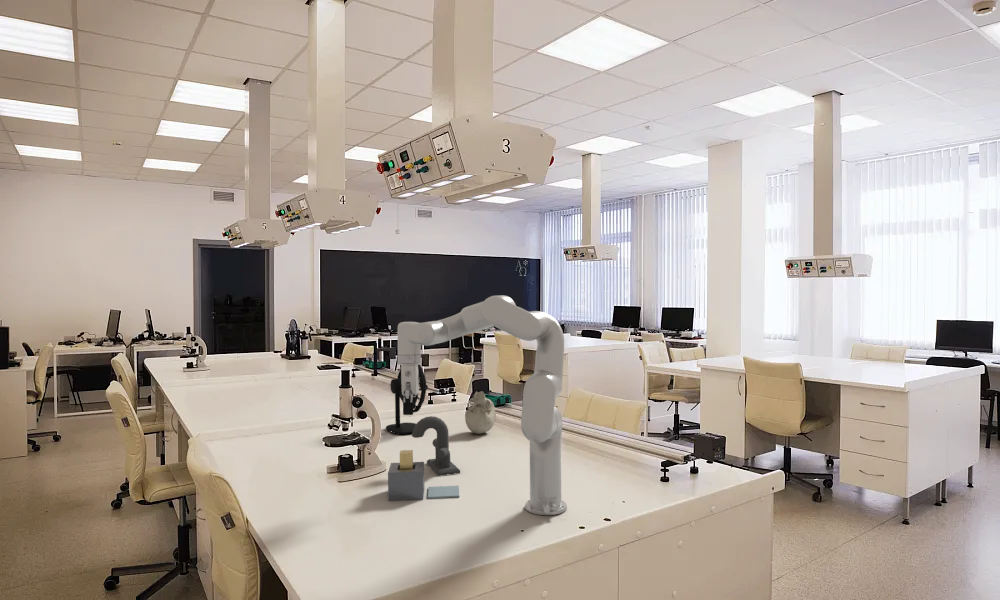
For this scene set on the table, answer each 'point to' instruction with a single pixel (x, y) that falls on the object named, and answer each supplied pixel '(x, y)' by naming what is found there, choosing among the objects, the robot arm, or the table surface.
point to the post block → (406, 482)
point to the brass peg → (406, 459)
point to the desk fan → (397, 390)
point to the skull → (480, 414)
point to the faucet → (437, 445)
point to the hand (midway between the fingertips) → (409, 411)
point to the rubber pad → (443, 492)
